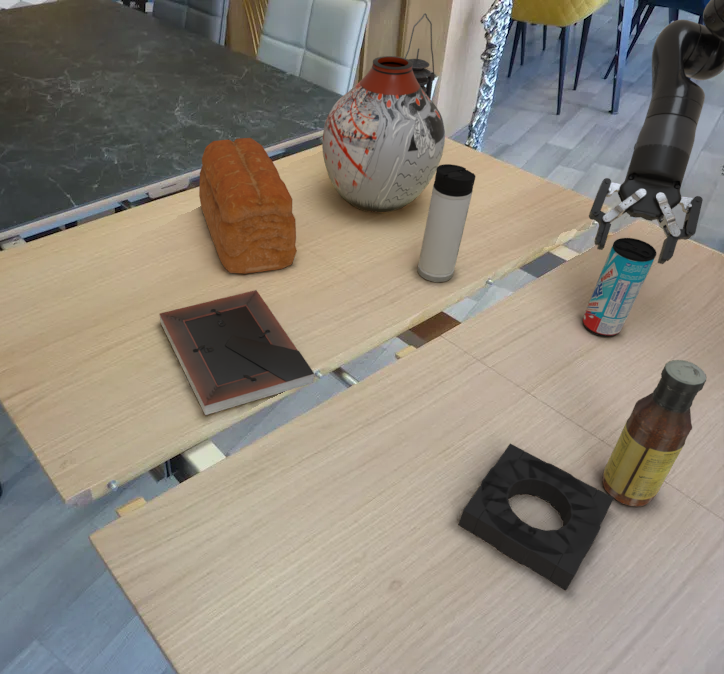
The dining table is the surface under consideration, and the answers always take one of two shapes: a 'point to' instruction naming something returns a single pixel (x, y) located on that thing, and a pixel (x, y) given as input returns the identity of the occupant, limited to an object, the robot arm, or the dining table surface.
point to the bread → (246, 207)
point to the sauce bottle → (653, 435)
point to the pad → (523, 542)
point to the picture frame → (234, 351)
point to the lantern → (423, 66)
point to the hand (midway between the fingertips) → (630, 255)
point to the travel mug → (445, 222)
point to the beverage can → (618, 286)
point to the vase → (383, 138)
